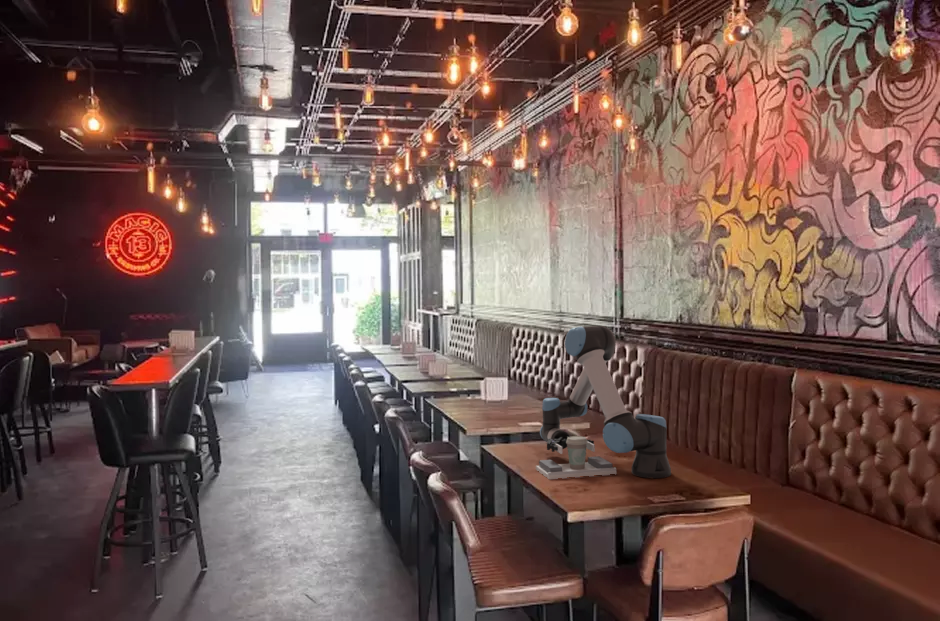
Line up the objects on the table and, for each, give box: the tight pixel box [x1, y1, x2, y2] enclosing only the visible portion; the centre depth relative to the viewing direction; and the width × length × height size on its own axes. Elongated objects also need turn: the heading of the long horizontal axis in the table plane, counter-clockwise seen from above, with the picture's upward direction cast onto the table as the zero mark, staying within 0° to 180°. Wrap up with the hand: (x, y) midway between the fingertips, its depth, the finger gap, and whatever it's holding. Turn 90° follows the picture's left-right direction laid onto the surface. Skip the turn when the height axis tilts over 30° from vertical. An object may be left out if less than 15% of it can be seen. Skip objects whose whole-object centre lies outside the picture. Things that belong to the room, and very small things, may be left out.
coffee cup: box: [566, 435, 588, 469], centre depth 293 cm, size 8×9×12 cm
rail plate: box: [535, 455, 617, 480], centre depth 293 cm, size 28×16×4 cm, turn 103°
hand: (577, 449), depth 290 cm, fingers open, 13 cm apart
